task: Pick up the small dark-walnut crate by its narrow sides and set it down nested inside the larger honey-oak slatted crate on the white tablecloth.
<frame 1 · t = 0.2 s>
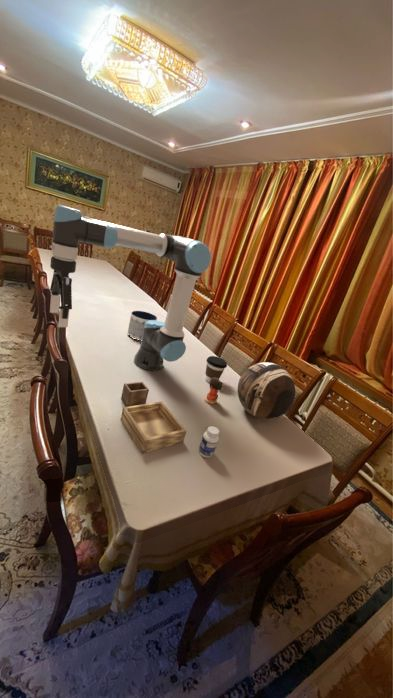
hand: (58, 319, 101), 28 cm above the table, fingers open, 13 cm apart
oak crate: (151, 430, 103), on the table
coffee cup: (210, 380, 152), on the table
walnut crate: (133, 401, 116), on the table
pill bottle: (205, 452, 100), on the table
figurine: (210, 401, 133), on the table
planter: (139, 337, 182), on the table
sphere: (256, 413, 133), on the table
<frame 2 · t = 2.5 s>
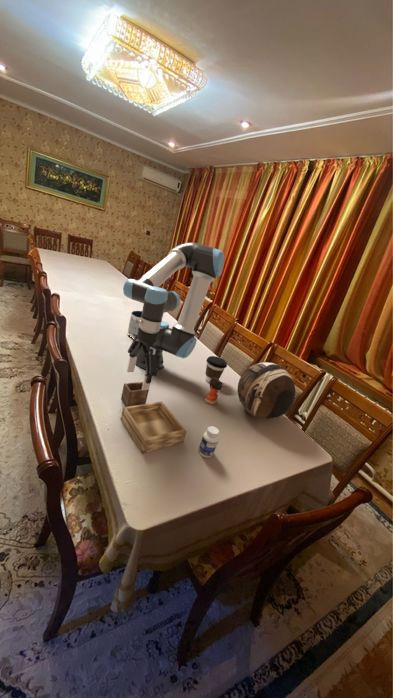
hand: (137, 380, 112), 10 cm above the table, fingers open, 13 cm apart
nothing on the table moved.
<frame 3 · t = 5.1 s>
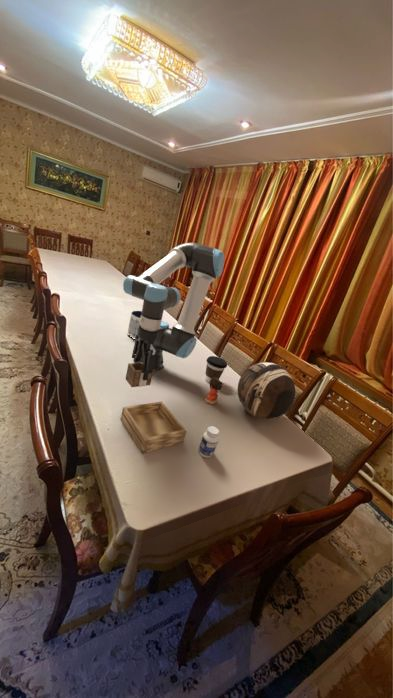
hand: (138, 381, 114), 9 cm above the table, fingers closed on walnut crate, 6 cm apart
walnut crate: (137, 382, 114), point 9 cm above the table, touching gripper
everything else where it was.
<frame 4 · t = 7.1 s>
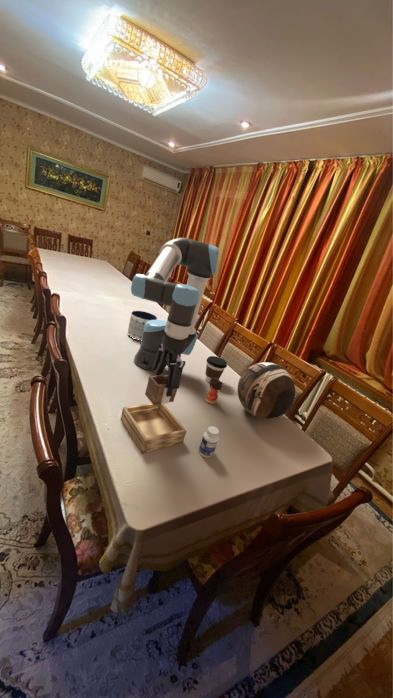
hand: (159, 397, 98), 14 cm above the table, fingers closed on walnut crate, 6 cm apart
walnut crate: (159, 397, 98), point 14 cm above the table, touching gripper
everything else where it was.
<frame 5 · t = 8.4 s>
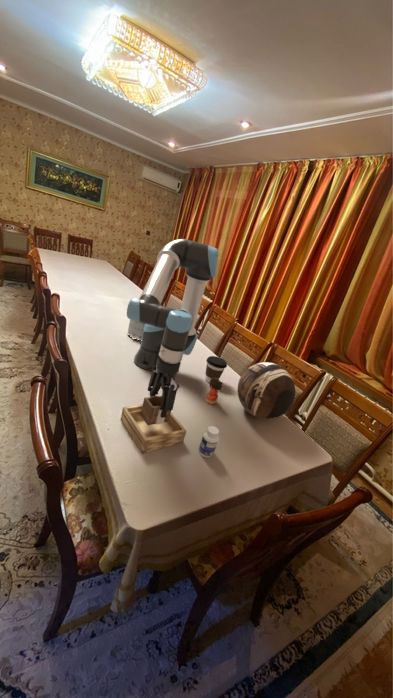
hand: (154, 417, 101), 6 cm above the table, fingers closed on walnut crate, 6 cm apart
walnut crate: (154, 418, 101), point 6 cm above the table, touching gripper
everything else where it was.
when the fingers open (1 cm above the table, at t = 9.6 s): walnut crate stays where it is, resting on oak crate.
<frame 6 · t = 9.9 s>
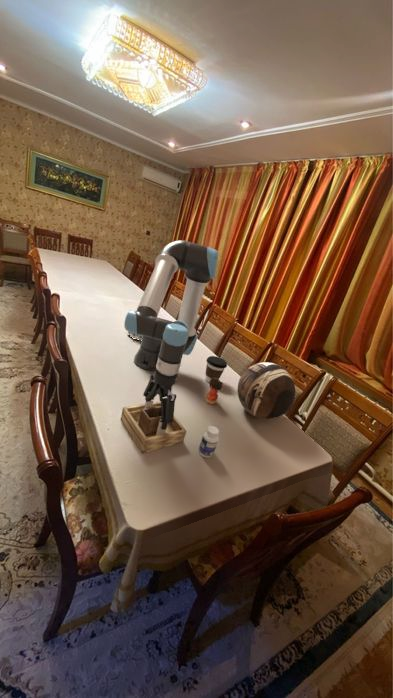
hand: (152, 425, 102), 2 cm above the table, fingers open, 10 cm apart
walnut crate: (151, 428, 103), point 1 cm above the table, touching oak crate
everything else where it was.
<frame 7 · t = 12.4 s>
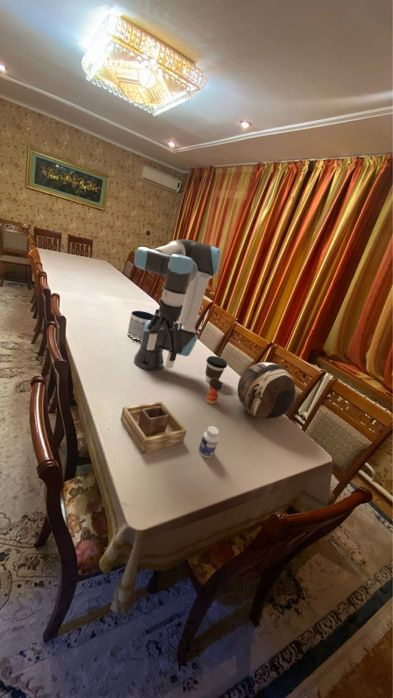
hand: (159, 358, 105), 23 cm above the table, fingers open, 13 cm apart
nothing on the table moved.
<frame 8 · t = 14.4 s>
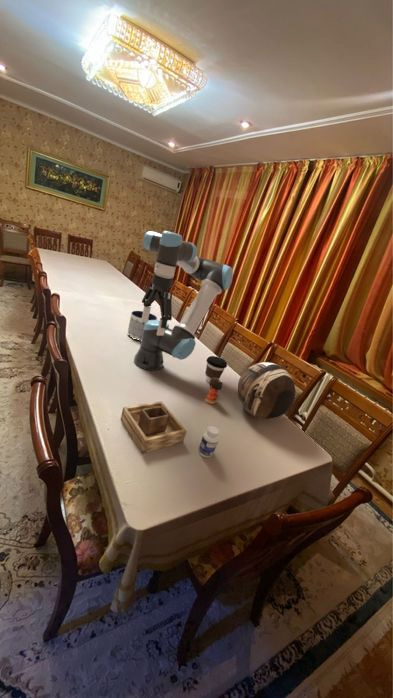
hand: (151, 328, 116), 29 cm above the table, fingers open, 13 cm apart
nothing on the table moved.
at the end: walnut crate inside the target area on the oak crate (0.2 cm from its centre), point 0.8 cm above the oak crate's base; walnut crate tilted 0°; the gripper is holding nothing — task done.
